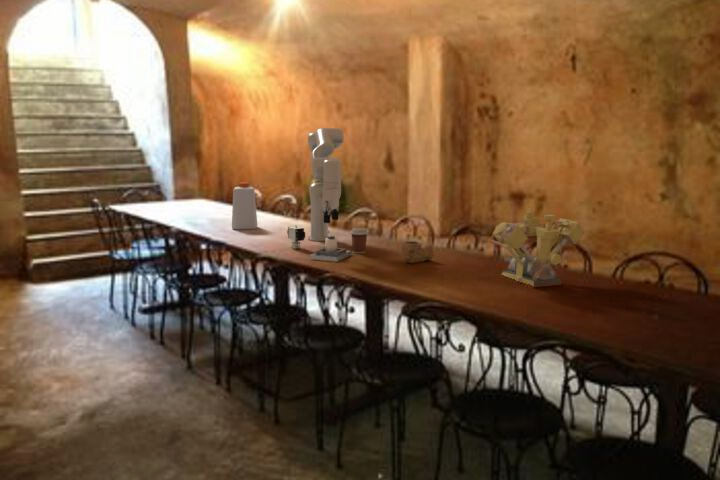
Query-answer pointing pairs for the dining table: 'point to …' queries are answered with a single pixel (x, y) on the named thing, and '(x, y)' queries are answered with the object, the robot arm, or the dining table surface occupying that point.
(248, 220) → the plastic bottle
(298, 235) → the pneumatic valve
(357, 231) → the coffee cup
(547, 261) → the mechanical engine
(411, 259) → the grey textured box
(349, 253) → the motor base
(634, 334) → the dining table surface
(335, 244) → the pump
